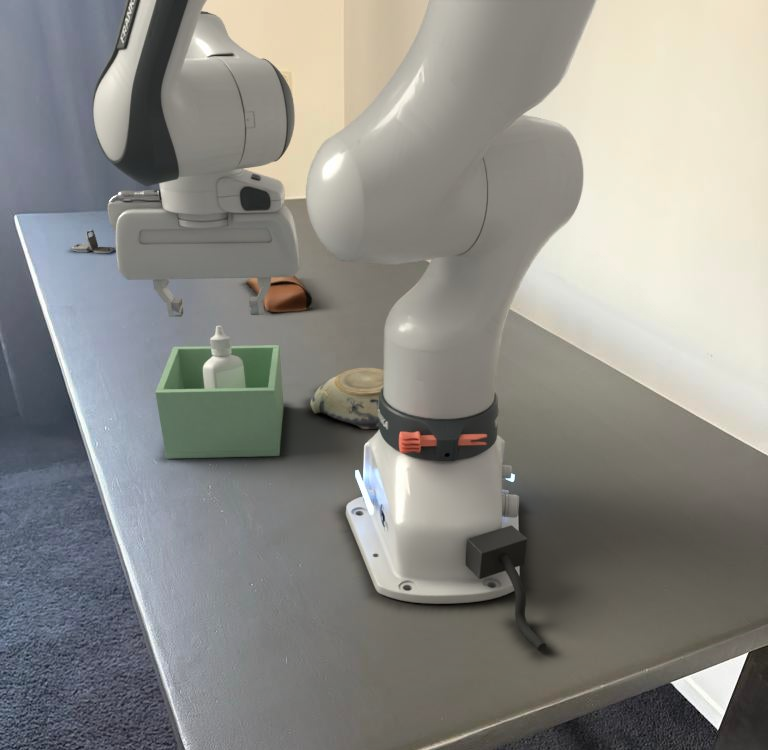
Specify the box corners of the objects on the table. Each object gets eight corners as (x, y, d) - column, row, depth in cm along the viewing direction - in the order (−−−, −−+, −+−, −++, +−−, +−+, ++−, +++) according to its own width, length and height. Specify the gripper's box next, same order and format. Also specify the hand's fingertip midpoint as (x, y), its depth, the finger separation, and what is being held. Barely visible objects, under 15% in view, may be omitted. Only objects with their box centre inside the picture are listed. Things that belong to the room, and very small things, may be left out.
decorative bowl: (301, 387, 113) (323, 435, 101) (300, 363, 111) (322, 408, 99) (402, 377, 117) (435, 422, 104) (403, 354, 115) (436, 396, 102)
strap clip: (71, 251, 167) (66, 231, 164) (77, 247, 169) (73, 227, 167) (109, 254, 166) (105, 233, 163) (115, 249, 168) (111, 229, 166)
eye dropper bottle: (256, 422, 101) (246, 326, 96) (213, 429, 98) (201, 331, 94) (244, 414, 104) (235, 321, 100) (202, 421, 102) (191, 326, 97)
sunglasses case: (241, 280, 150) (256, 248, 148) (273, 295, 154) (289, 264, 152) (266, 312, 136) (283, 277, 134) (301, 327, 140) (318, 293, 138)
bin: (279, 456, 97) (274, 390, 92) (166, 458, 96) (155, 392, 91) (283, 406, 108) (279, 345, 103) (182, 408, 107) (173, 346, 102)
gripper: (97, 196, 82) (121, 325, 90) (295, 194, 83) (302, 321, 91) (110, 184, 88) (132, 307, 95) (296, 182, 89) (303, 304, 96)
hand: (216, 314), depth 93 cm, fingers open, 8 cm apart
